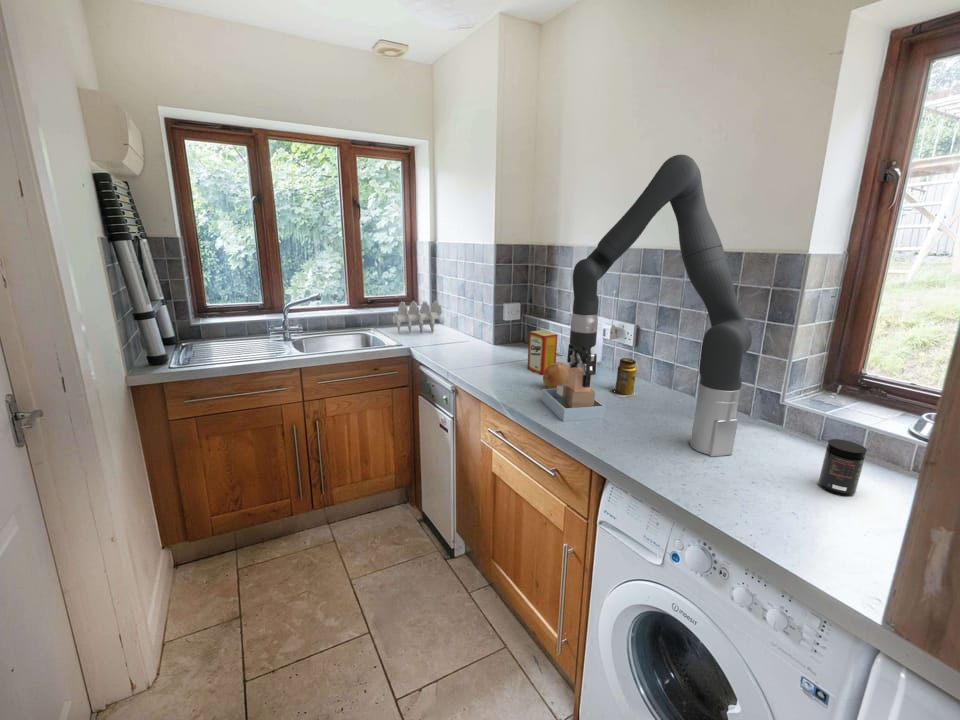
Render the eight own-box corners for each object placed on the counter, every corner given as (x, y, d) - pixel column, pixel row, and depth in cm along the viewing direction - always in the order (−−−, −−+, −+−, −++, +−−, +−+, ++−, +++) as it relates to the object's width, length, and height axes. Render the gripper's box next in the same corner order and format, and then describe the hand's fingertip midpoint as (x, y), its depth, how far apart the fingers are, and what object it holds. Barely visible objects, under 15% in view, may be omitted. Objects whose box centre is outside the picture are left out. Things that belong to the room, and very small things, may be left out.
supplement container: (850, 485, 104) (862, 442, 101) (859, 500, 98) (871, 455, 95) (814, 478, 106) (824, 436, 104) (820, 492, 100) (831, 448, 98)
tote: (604, 420, 137) (605, 406, 136) (563, 423, 134) (564, 409, 133) (578, 399, 154) (579, 387, 153) (541, 402, 151) (542, 389, 150)
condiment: (638, 394, 161) (642, 360, 158) (622, 398, 157) (626, 364, 153) (622, 388, 167) (625, 356, 164) (605, 392, 162) (609, 359, 159)
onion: (548, 383, 170) (549, 357, 167) (574, 388, 165) (576, 361, 162) (537, 391, 162) (538, 363, 159) (564, 396, 157) (566, 368, 154)
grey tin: (579, 407, 145) (580, 389, 144) (560, 408, 144) (561, 390, 142) (571, 400, 151) (572, 382, 150) (552, 401, 150) (553, 383, 148)
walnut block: (592, 417, 137) (595, 392, 135) (570, 419, 136) (572, 393, 134) (582, 409, 144) (584, 384, 142) (561, 410, 142) (563, 385, 140)
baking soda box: (554, 373, 183) (557, 333, 179) (542, 375, 180) (544, 335, 176) (540, 367, 191) (542, 329, 187) (527, 369, 188) (529, 330, 184)
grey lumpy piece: (393, 339, 252) (437, 334, 260) (398, 331, 236) (445, 327, 244) (388, 307, 255) (432, 303, 263) (392, 297, 238) (439, 293, 246)
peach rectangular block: (590, 391, 136) (592, 371, 134) (574, 392, 135) (576, 372, 133) (583, 385, 141) (584, 367, 139) (567, 386, 140) (569, 367, 138)
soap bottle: (572, 375, 180) (577, 314, 174) (574, 368, 190) (578, 310, 183) (600, 378, 178) (605, 316, 171) (599, 370, 187) (605, 311, 181)
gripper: (607, 333, 127) (602, 389, 132) (584, 324, 141) (580, 375, 145) (582, 334, 126) (577, 391, 130) (561, 324, 139) (558, 376, 143)
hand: (579, 382), depth 137 cm, fingers open, 8 cm apart
